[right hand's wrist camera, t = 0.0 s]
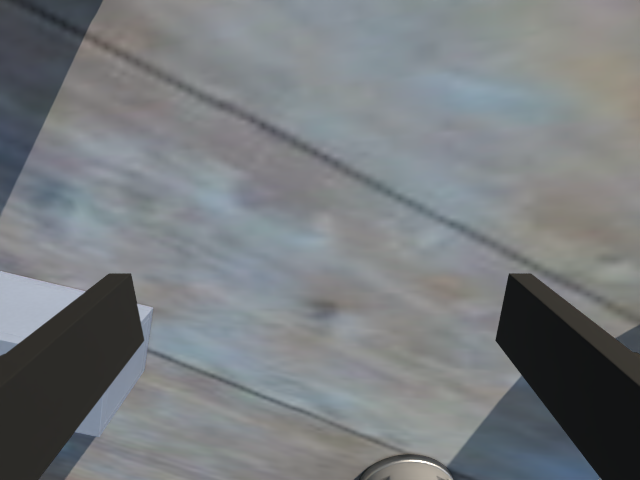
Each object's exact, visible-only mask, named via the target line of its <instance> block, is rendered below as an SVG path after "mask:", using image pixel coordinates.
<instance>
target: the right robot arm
mask: <svg viewBox="0 0 640 480" xmlns="http://www.w3.org/2000/svg"><path fill="white" fill-rule="evenodd" d="M143 342H144V336H143V331H142V326H141V321H140V316H139V311H138V306H137V301H136V296H135V291H134V286H133V281H132V276H131V274H108V275H107V276H105V277H104V278H103V279H101V280H100V281H99V282H98V283H96V284H95V285H94V286H92V287H91V288H90V289H88V290H87V291H86V292H85V293H83V294H82V295H81V296H79V297H78V298H77V299H76V300H74V301H73V302H72V303H70V304H69V305H68V306H66V307H65V308H64V309H63V310H61V311H60V312H59V313H57V314H56V315H55V316H54V317H52V318H51V319H50V320H48V321H47V322H46V323H44V324H43V325H42V326H41V327H39V328H38V329H37V330H35V331H34V332H33V333H32V334H30V335H29V336H28V337H26V338H25V339H24V340H22V341H21V342H20V343H19V344H17V345H16V346H15V347H13V348H12V349H11V350H10V351H8V352H7V353H6V354H3V355H1V356H0V480H38V479H39V478H40V477H41V475H42V474H43V473H44V471H45V470H46V469H47V468H48V466H49V465H50V464H51V462H52V461H53V460H54V458H55V457H56V456H57V454H58V453H59V452H60V451H61V449H62V448H63V447H64V445H65V444H66V443H67V441H68V440H69V439H70V437H71V436H72V435H73V434H74V432H75V431H76V430H77V428H78V427H79V426H80V424H81V423H82V422H83V420H84V419H85V418H86V416H87V415H88V414H89V413H90V411H91V410H92V409H93V407H94V406H95V405H96V403H97V402H98V401H99V399H100V398H101V397H102V396H103V394H104V393H105V392H106V390H107V389H108V388H109V386H110V385H111V384H112V382H113V381H114V380H115V378H116V377H117V376H118V375H119V373H120V372H121V371H122V369H123V368H124V367H125V365H126V364H127V363H128V361H129V360H130V359H131V358H132V356H133V355H134V354H135V352H136V351H137V350H138V348H139V347H140V346H141V344H142V343H143ZM496 342H497V343H498V344H499V346H500V347H501V348H502V350H503V351H504V352H505V354H506V355H507V356H508V358H509V359H510V360H511V361H512V363H513V364H514V365H515V367H516V368H517V369H518V371H519V372H520V373H521V375H522V376H523V377H524V378H525V380H526V381H527V382H528V384H529V385H530V386H531V388H532V389H533V390H534V392H535V393H536V394H537V396H538V397H539V398H540V399H541V401H542V402H543V403H544V405H545V406H546V407H547V409H548V410H549V411H550V413H551V414H552V415H553V416H554V418H555V419H556V420H557V422H558V423H559V424H560V426H561V427H562V428H563V430H564V431H565V432H566V434H567V435H568V436H569V437H570V439H571V440H572V441H573V443H574V444H575V445H576V447H577V448H578V449H579V451H580V452H581V453H582V454H583V456H584V457H585V458H586V460H587V461H588V462H589V464H590V465H591V466H592V468H593V469H594V470H595V471H596V473H597V474H598V475H599V477H600V478H601V479H602V480H640V354H638V353H633V352H632V351H630V350H629V349H628V348H627V347H625V346H624V345H623V344H621V343H620V342H619V341H618V340H616V339H615V338H614V337H612V336H611V335H610V334H608V333H607V332H606V331H605V330H603V329H602V328H601V327H599V326H598V325H597V324H596V323H594V322H593V321H592V320H590V319H589V318H588V317H586V316H585V315H584V314H583V313H581V312H580V311H579V310H577V309H576V308H575V307H574V306H572V305H571V304H570V303H568V302H567V301H566V300H564V299H563V298H562V297H561V296H559V295H558V294H557V293H555V292H554V291H553V290H552V289H550V288H549V287H548V286H546V285H545V284H544V283H542V282H541V281H540V280H539V279H537V278H536V277H535V276H533V275H532V274H509V276H508V281H507V286H506V291H505V296H504V301H503V306H502V311H501V316H500V321H499V326H498V331H497V336H496ZM360 480H454V479H453V477H452V474H451V473H450V471H449V470H448V469H447V468H446V467H445V466H444V465H443V464H441V463H440V462H438V461H436V460H434V459H432V458H429V457H425V456H421V455H398V456H393V457H389V458H386V459H384V460H381V461H379V462H377V463H375V464H374V465H372V466H371V467H370V468H368V469H367V470H366V471H365V472H364V474H363V475H362V476H361V478H360Z"/></svg>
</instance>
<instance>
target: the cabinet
mask: <svg viewBox="0 0 640 480" xmlns="http://www.w3.org/2000/svg"><path fill="white" fill-rule="evenodd" d="M85 292H86V291H82V290H78V289H74V288H70V287H65V286H61V285H57V284H53V283H49V282H45V281H40V280H36V279H32V278H28V277H24V276H19V275H15V274H11V273H7V272H3V271H0V356H1V355H3V354H6V353H7V352H8V351H10V350H11V349H12V348H13V347H15V346H16V345H17V344H19V343H20V342H21V341H22V340H24V339H25V338H26V337H28V336H29V335H30V334H32V333H33V332H34V331H35V330H37V329H38V328H39V327H41V326H42V325H43V324H44V323H46V322H47V321H48V320H50V319H51V318H52V317H54V316H55V315H56V314H57V313H59V312H60V311H61V310H63V309H64V308H65V307H66V306H68V305H69V304H70V303H72V302H73V301H74V300H76V299H77V298H78V297H79V296H81V295H82V294H83V293H85ZM137 306H138V311H139V316H140V321H141V326H142V331H143V336H144V342H143V343H142V344H141V346H140V347H139V348H138V350H137V351H136V352H135V354H134V355H133V356H132V358H131V359H130V360H129V361H128V363H127V364H126V365H125V367H124V368H123V369H122V371H121V372H120V373H119V375H118V376H117V377H116V378H115V380H114V381H113V382H112V384H111V385H110V386H109V388H108V389H107V390H106V392H105V393H104V394H103V396H102V397H101V398H100V399H99V401H98V402H97V403H96V405H95V406H94V407H93V409H92V410H91V411H90V413H89V414H88V415H87V416H86V418H85V419H84V420H83V422H82V423H81V424H80V426H79V427H78V428H77V430H76V431H75V432H76V433H81V434H86V435H91V436H96V437H100V435H101V434H102V432H103V431H104V429H105V428H106V426H107V425H108V423H109V422H110V420H111V419H112V417H113V416H114V414H115V413H116V411H117V410H118V408H119V407H120V405H121V404H122V403H123V401H124V400H125V398H126V397H127V395H128V394H129V392H130V391H131V389H132V388H133V386H134V385H135V383H136V382H137V380H138V379H139V377H140V376H141V374H142V373H143V372H144V370H145V363H146V356H147V349H148V342H149V335H150V328H151V320H152V313H153V307H149V306H145V305H141V304H137Z"/></svg>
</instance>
